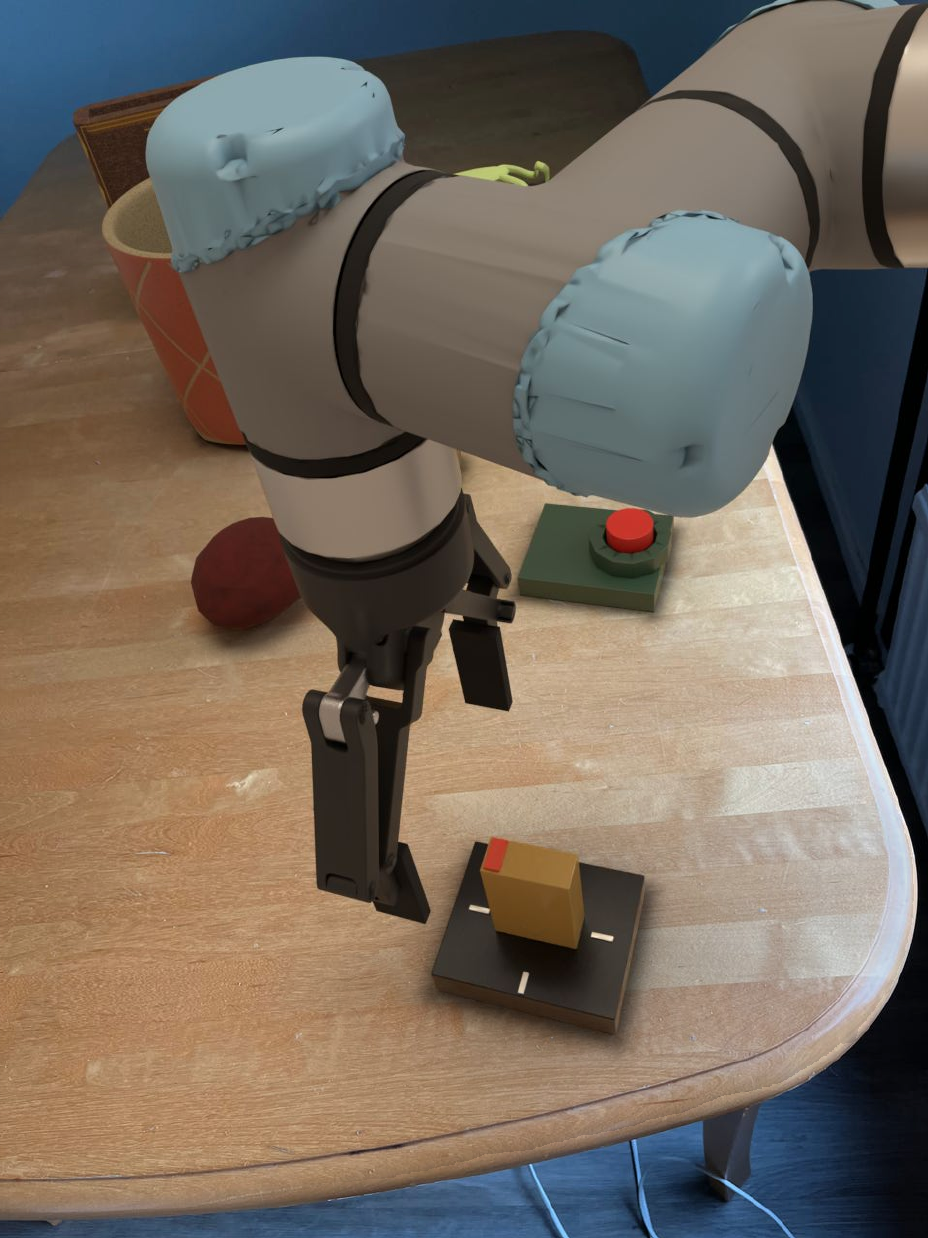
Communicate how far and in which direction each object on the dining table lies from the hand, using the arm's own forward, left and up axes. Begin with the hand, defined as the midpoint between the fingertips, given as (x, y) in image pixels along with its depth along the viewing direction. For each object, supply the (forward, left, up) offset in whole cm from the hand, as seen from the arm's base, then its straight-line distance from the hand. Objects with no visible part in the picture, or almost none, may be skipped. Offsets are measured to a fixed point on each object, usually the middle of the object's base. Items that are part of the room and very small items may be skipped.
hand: (449, 799), depth 56 cm
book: (+60, -80, -19) cm, 102 cm away
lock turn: (-3, -1, -16) cm, 16 cm away
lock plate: (-3, -1, -19) cm, 19 cm away
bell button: (-2, -37, -15) cm, 40 cm away
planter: (+43, -58, -19) cm, 75 cm away
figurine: (+32, -101, -19) cm, 108 cm away
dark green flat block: (+1, -37, -19) cm, 42 cm away
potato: (+30, -27, -19) cm, 45 cm away
